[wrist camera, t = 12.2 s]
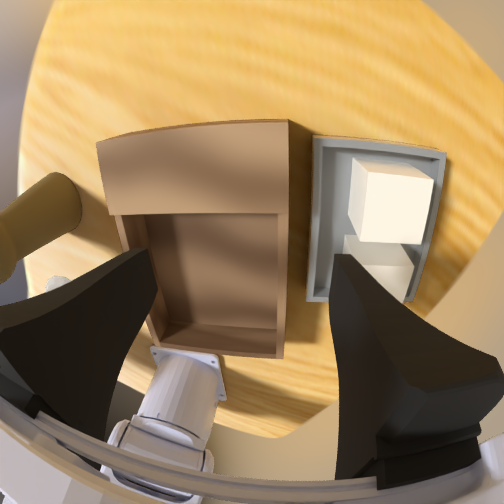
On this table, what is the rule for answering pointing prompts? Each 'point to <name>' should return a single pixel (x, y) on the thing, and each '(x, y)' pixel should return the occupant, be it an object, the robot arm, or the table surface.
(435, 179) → the slate dish
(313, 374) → the table surface
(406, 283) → the cube
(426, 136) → the table surface
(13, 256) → the cork
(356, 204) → the cube
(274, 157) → the walnut box
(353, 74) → the table surface
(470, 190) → the table surface
